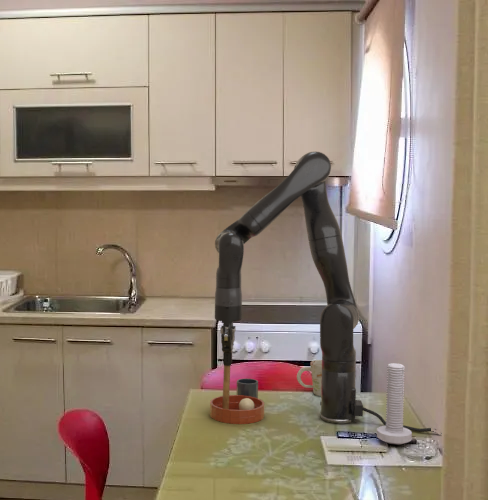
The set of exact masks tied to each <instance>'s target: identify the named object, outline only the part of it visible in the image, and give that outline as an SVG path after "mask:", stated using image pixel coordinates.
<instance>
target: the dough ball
mask: <svg viewBox="0 0 488 500" xmlns="http://www.w3.org/2000/svg"><path fill="white" fill-rule="evenodd" d="M239 409H240V410H249V409H254V402H253V401H252V400H251V399H249V398H244V399H242V400H241V401H240V403H239Z"/></svg>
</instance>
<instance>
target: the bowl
mask: <svg viewBox="0 0 488 500" xmlns="http://www.w3.org/2000/svg"><path fill="white" fill-rule="evenodd" d="M244 398H249V399H251V400H252V401H253V402H254V409H249V410H240V409H239V403H240V401H241V400H242V399H244ZM222 404H223V395H220V396H216V397H213V398H212V399H210V401H209V416H210V418H211V419H213V420H215V421H218V422H220V423H225V424H230V425H246V424H254V423H257V422H261V421H262V420H264V419H265V401H264V400H263V399H260V398H259V397H258V398H255V397H251V396H245V395H237V394H229V409H223V408H222Z"/></svg>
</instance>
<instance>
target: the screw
mask: <svg viewBox="0 0 488 500" xmlns="http://www.w3.org/2000/svg"><path fill="white" fill-rule="evenodd" d="M386 369H387V372H386V376H387V377H386V378H387V379H386V402H385V403H386V404H385V408H386V409H385V410H386V411H385V413H386V414H385V415H386V416H385V421H386V425H387V426H386V425H381V426H378V427H377V428H376V438H377V439H379V440H381V441H383V442H385V443H387V444H389V445H396V446H397V445H398V446H399V445H403V444H407V443H410V442H411V441H412V439H413V436H412V435H413V431H411V430H409V429H407V428H404V427H403V425H404V407H405V405H404V404H405V403H404V400H405V398H404V397H405V393H404V392H405V370H406V368H405V365H404V364H401V363H398V362H397V363H396V362H395V363H394V362H391V363H388V364H387V367H386Z"/></svg>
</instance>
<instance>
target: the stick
mask: <svg viewBox="0 0 488 500" xmlns="http://www.w3.org/2000/svg"><path fill="white" fill-rule="evenodd" d="M222 381H223V382H222V385H223V387H222V396H223V404H222V408H223V409H229V395H230V390H231V389H230V385H231V365H230V366H225V365H223V379H222Z"/></svg>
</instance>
